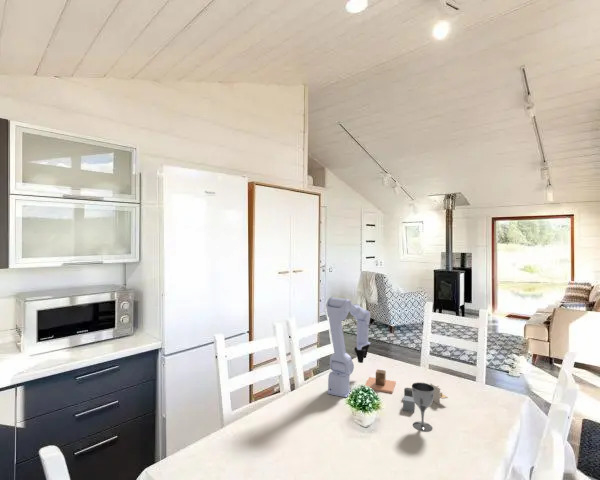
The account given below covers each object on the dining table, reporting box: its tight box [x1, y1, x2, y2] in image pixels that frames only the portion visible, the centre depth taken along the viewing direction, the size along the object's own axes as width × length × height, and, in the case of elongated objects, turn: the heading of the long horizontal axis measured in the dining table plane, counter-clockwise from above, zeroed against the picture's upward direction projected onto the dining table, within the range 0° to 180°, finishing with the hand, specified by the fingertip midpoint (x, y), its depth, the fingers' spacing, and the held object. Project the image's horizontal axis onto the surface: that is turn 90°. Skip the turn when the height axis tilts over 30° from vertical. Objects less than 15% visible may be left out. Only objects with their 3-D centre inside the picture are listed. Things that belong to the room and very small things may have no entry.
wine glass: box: [411, 382, 434, 433], centre depth 130 cm, size 8×8×15 cm
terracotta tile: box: [364, 376, 397, 394], centre depth 166 cm, size 13×12×1 cm
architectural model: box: [429, 383, 449, 406], centre depth 150 cm, size 3×7×7 cm, turn 21°
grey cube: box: [402, 396, 416, 413], centre depth 144 cm, size 4×4×4 cm
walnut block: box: [375, 369, 387, 386], centre depth 166 cm, size 4×4×6 cm
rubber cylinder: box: [403, 387, 413, 397], centre depth 153 cm, size 4×4×4 cm
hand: (362, 360), depth 174 cm, fingers open, 7 cm apart
